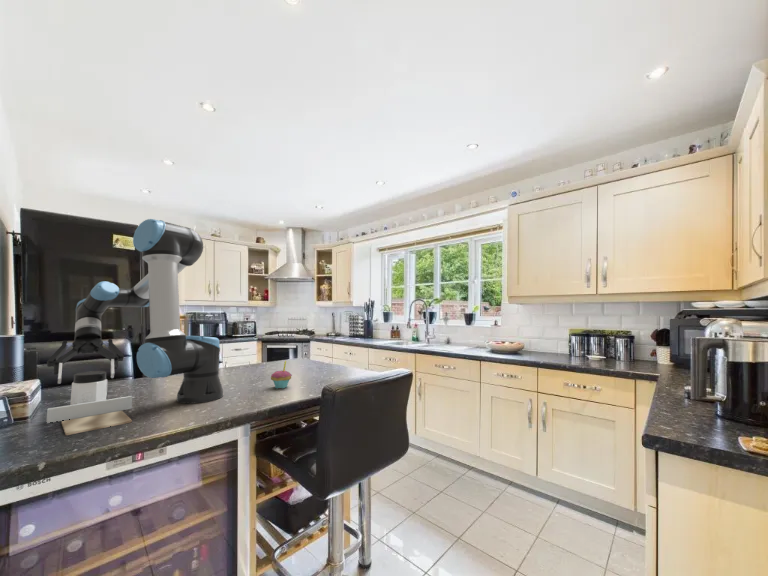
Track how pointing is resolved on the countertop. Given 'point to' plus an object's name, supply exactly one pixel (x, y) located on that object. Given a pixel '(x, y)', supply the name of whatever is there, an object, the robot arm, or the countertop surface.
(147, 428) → the countertop surface
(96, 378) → the jar
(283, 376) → the cupcake
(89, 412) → the acrylic wall
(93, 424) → the oak board
